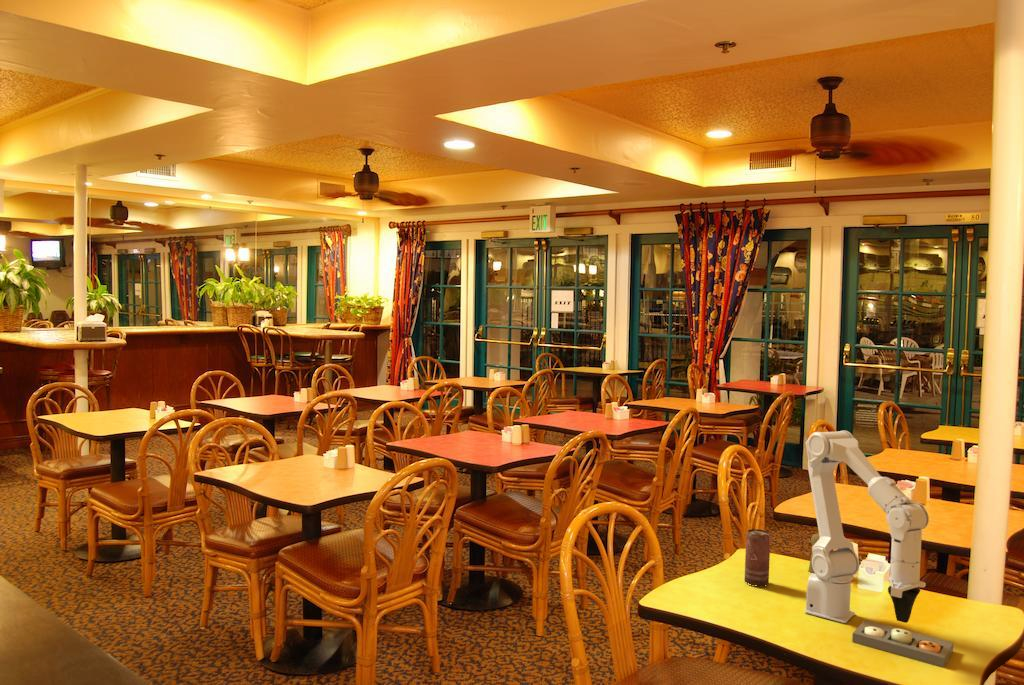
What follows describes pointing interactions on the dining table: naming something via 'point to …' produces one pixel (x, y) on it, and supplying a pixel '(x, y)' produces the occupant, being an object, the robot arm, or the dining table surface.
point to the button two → (901, 636)
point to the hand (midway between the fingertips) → (902, 620)
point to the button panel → (903, 649)
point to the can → (757, 557)
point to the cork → (813, 540)
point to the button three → (929, 646)
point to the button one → (874, 631)
